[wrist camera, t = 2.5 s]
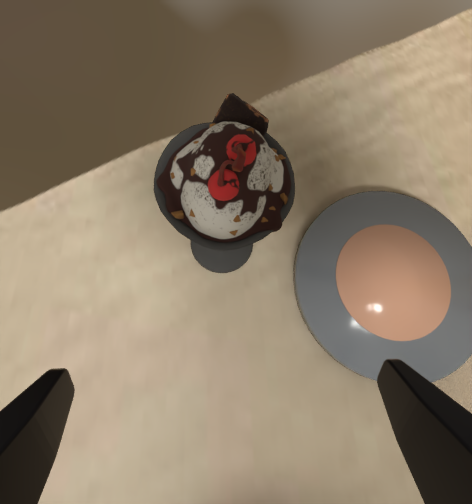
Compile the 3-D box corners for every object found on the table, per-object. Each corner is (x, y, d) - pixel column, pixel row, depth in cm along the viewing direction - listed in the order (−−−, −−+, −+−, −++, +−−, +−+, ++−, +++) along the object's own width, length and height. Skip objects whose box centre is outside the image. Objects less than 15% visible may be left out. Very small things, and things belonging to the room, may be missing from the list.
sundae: (218, 302, 22) (220, 248, 8) (163, 238, 23) (75, 84, 9) (280, 248, 24) (380, 118, 9) (226, 190, 25) (239, -10, 10)
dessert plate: (514, 319, 23) (528, 318, 22) (365, 425, 21) (373, 430, 20) (401, 169, 26) (409, 162, 25) (258, 245, 24) (260, 241, 23)
